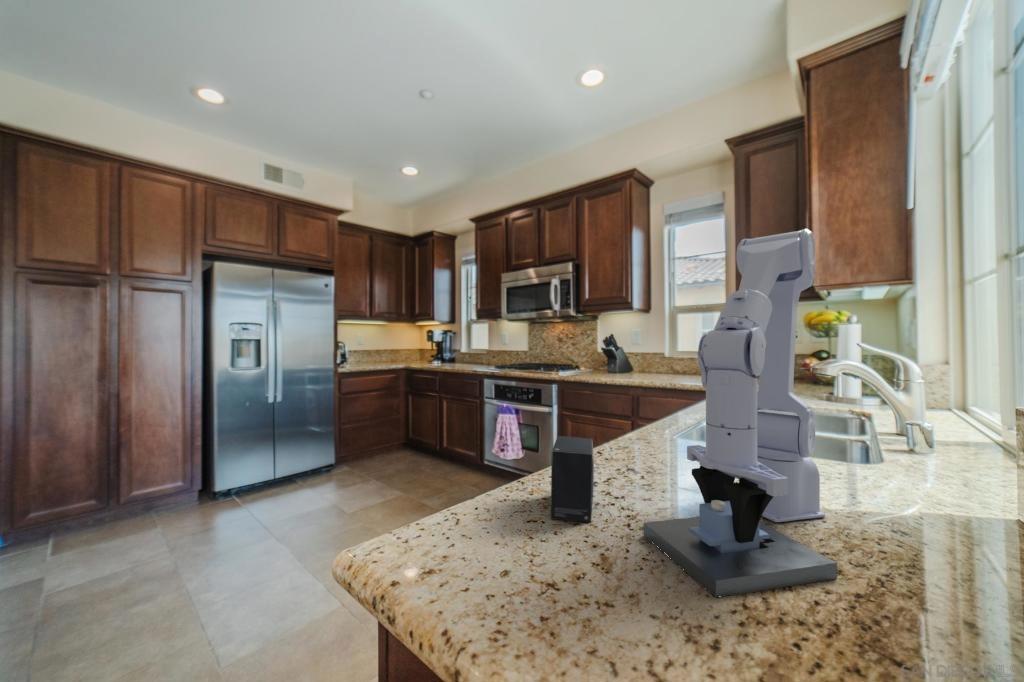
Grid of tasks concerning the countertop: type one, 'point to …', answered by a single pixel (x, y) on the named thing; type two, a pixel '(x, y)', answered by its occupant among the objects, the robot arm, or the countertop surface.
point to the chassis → (740, 560)
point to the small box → (572, 479)
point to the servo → (723, 529)
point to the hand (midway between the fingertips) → (730, 532)
